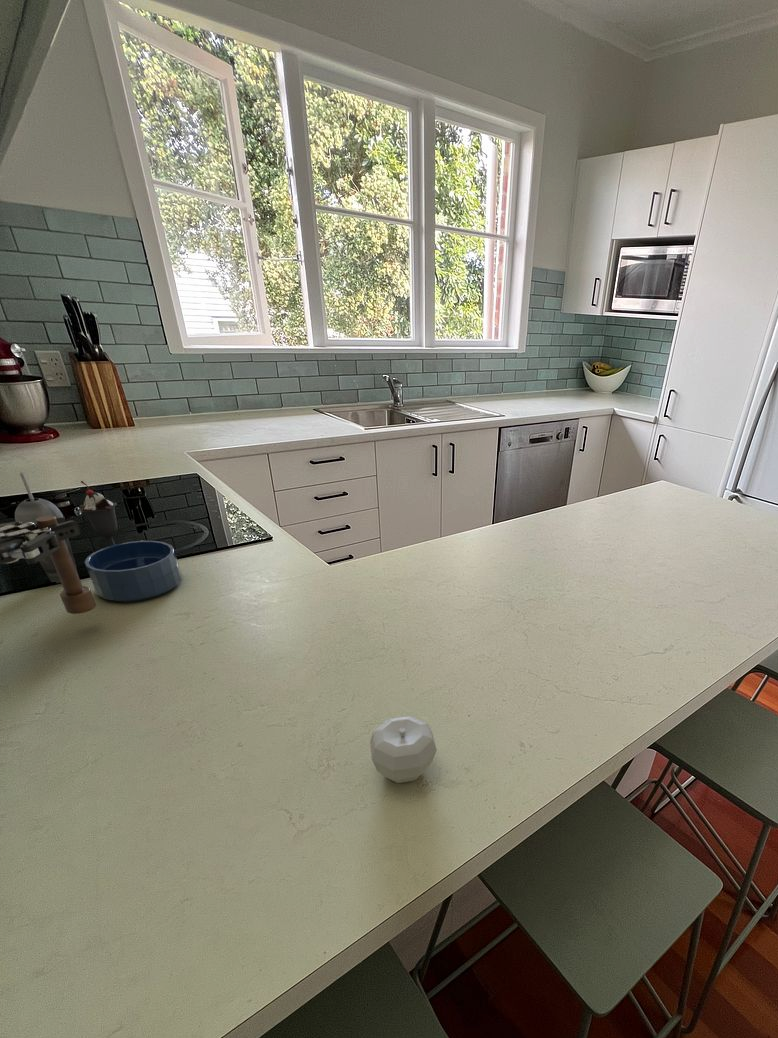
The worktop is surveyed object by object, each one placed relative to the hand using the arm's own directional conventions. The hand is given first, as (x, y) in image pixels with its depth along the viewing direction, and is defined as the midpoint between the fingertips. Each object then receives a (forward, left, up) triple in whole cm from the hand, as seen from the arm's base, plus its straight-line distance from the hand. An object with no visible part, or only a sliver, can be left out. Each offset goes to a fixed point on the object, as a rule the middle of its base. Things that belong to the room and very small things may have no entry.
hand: (70, 525), depth 83 cm
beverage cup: (-16, +17, -17) cm, 30 cm away
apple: (+52, -37, -17) cm, 66 cm away
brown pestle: (-2, -3, -13) cm, 13 cm away
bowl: (0, +13, -17) cm, 22 cm away
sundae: (-13, +30, -17) cm, 37 cm away
